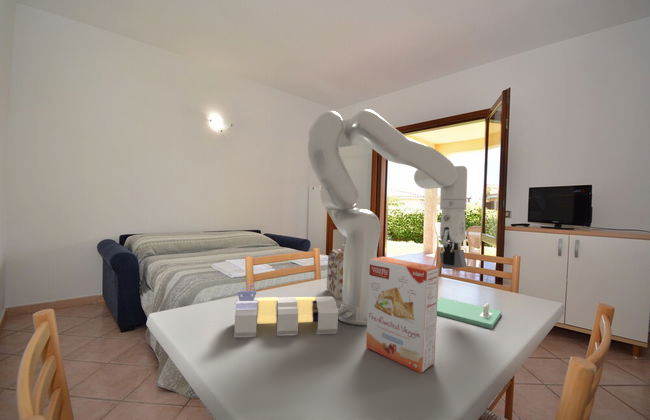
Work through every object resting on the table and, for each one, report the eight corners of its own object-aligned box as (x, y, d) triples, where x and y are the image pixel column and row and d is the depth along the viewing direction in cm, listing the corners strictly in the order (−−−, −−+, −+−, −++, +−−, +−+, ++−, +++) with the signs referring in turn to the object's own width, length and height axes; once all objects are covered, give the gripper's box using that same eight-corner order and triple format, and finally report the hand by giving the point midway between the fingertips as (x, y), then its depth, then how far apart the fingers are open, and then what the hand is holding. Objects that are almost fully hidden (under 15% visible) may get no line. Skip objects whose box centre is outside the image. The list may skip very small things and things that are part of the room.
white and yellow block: (233, 340, 71) (235, 285, 71) (238, 323, 81) (239, 275, 81) (337, 336, 76) (339, 284, 76) (329, 320, 86) (330, 274, 86)
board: (491, 328, 84) (492, 313, 84) (424, 311, 96) (425, 298, 96) (501, 314, 95) (502, 301, 95) (440, 300, 107) (440, 289, 107)
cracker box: (364, 349, 69) (368, 257, 69) (379, 341, 73) (383, 255, 73) (421, 375, 59) (426, 269, 59) (435, 364, 63) (440, 265, 63)
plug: (462, 267, 91) (458, 250, 92) (442, 268, 95) (439, 252, 95) (466, 265, 94) (463, 248, 95) (447, 266, 98) (444, 250, 98)
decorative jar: (326, 289, 116) (327, 242, 115) (354, 288, 119) (356, 242, 119) (336, 299, 104) (338, 247, 104) (367, 297, 108) (369, 247, 107)
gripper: (456, 205, 86) (454, 269, 86) (473, 205, 98) (471, 261, 99) (430, 205, 91) (428, 265, 91) (450, 205, 103) (448, 258, 104)
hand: (451, 263), depth 95 cm, fingers closed on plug, 3 cm apart
